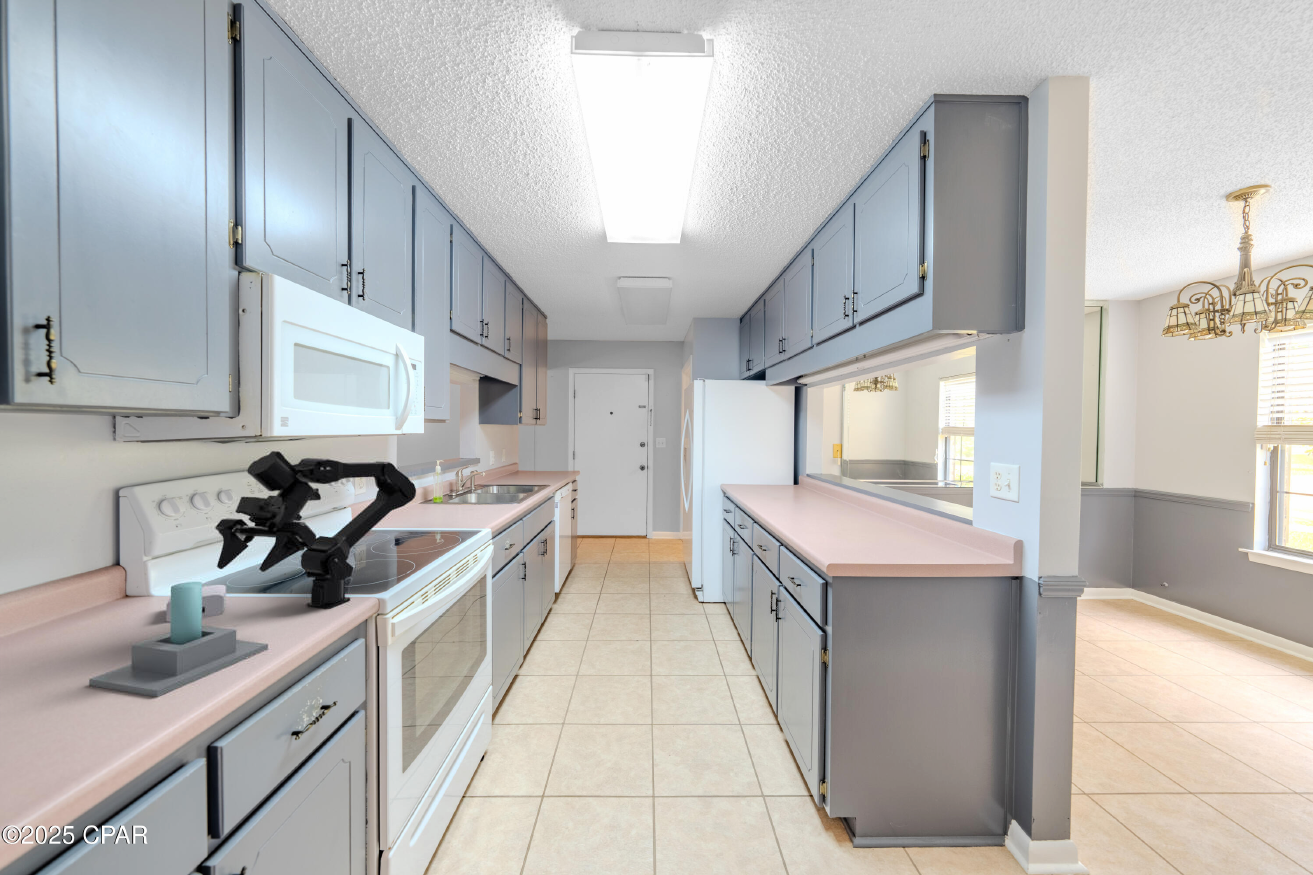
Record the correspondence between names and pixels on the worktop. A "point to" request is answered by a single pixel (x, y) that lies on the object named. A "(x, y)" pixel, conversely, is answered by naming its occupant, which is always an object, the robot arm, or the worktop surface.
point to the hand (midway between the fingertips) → (240, 569)
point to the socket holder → (177, 662)
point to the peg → (186, 612)
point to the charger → (207, 601)
